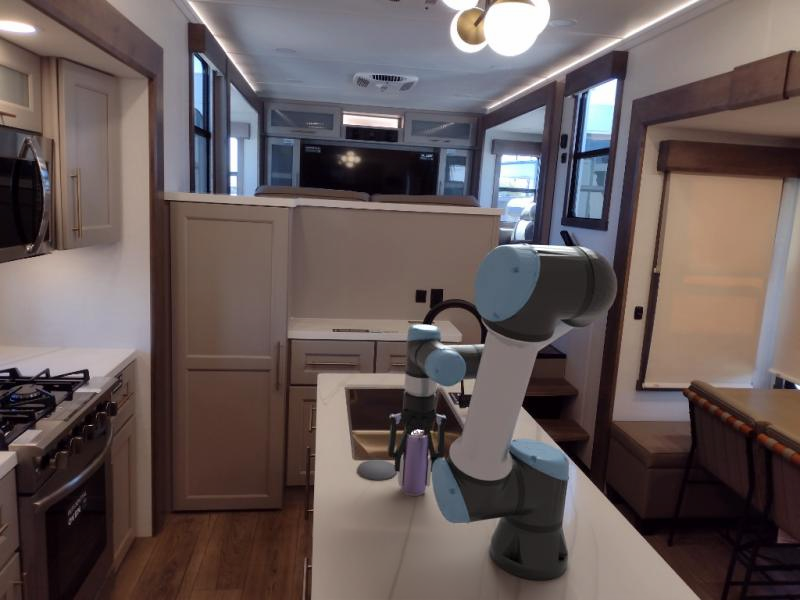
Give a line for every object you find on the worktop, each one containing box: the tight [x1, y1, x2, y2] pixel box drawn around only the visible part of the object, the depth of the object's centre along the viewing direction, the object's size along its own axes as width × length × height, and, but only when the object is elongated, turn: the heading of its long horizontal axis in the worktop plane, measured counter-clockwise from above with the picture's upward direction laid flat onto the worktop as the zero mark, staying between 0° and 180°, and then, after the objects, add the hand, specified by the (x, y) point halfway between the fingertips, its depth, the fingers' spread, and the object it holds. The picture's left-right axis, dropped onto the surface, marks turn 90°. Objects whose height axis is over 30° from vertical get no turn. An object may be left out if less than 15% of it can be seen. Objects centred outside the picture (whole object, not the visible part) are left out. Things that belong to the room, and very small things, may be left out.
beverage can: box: [400, 430, 430, 497], centre depth 138 cm, size 6×6×15 cm
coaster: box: [357, 459, 398, 481], centre depth 148 cm, size 10×10×1 cm
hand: (413, 483), depth 139 cm, fingers closed on beverage can, 6 cm apart
